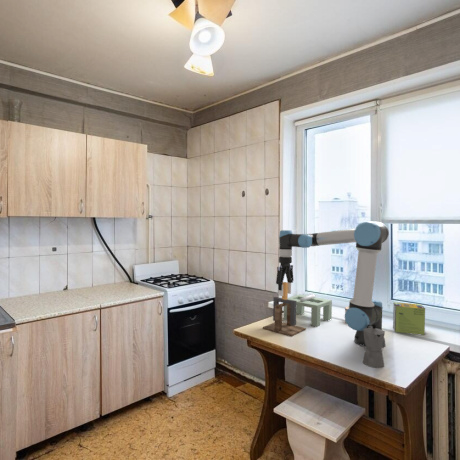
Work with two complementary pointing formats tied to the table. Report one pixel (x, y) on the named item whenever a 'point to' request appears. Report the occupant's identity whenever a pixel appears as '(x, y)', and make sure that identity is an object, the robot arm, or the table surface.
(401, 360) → the table surface
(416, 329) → the protein box
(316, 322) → the pale green table
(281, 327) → the walnut rack
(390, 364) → the table surface
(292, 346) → the table surface
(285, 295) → the dark grey arch
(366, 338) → the coffeepot
